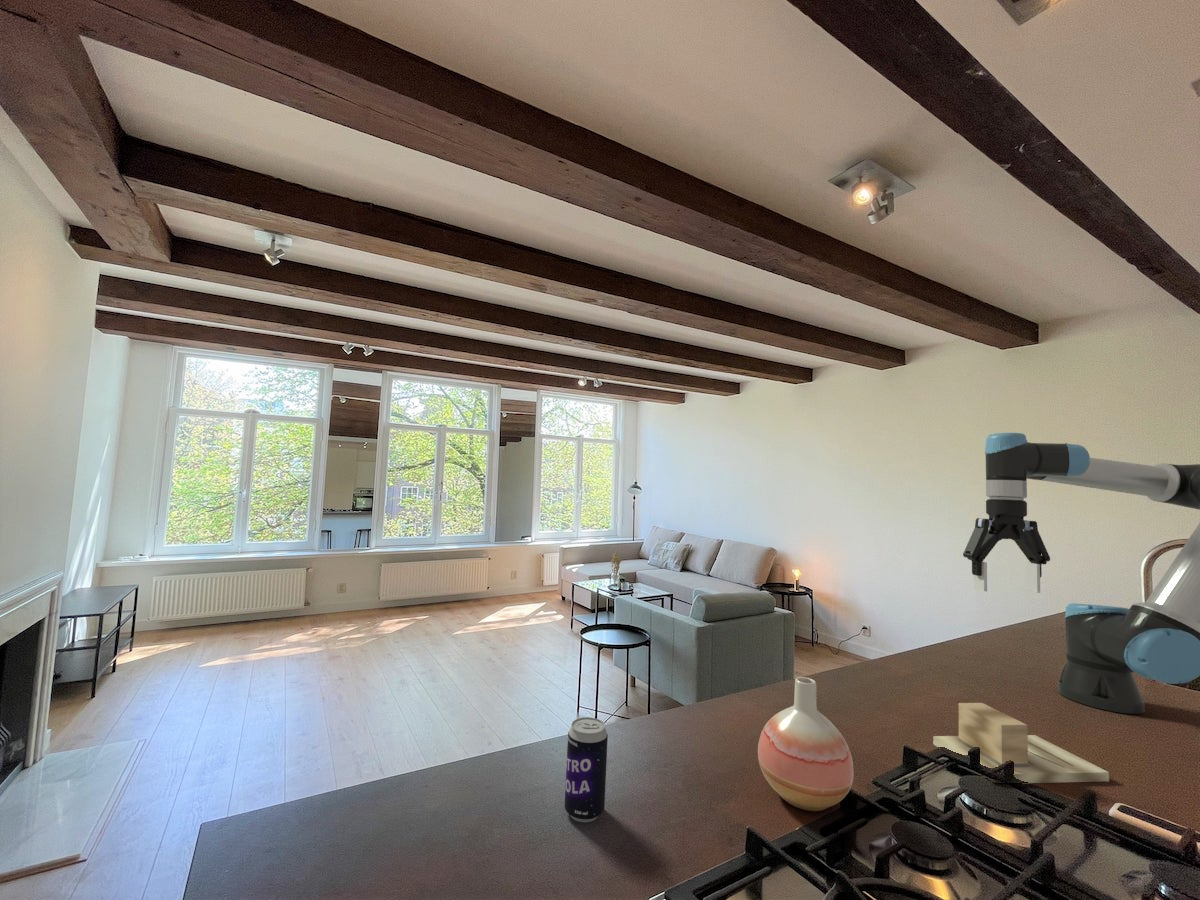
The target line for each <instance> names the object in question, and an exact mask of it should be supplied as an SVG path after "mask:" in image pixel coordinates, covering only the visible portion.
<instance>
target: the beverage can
mask: <svg viewBox="0 0 1200 900" xmlns="http://www.w3.org/2000/svg"><path fill="white" fill-rule="evenodd" d="M608 736H609V734H608V731H607V730H606V723H605V722H604V721H602V720H600V719H598V718H596V717H579V718H576V719H574V720H573V721H572V722H571V727H570V728H569V730H568V733H567V747H566V748H567V749H566V750H567V751H566V766H565V767H566V768H565V769H566V770H565V772H566V773H565V786H564V788H565V789H564V804H563V805H564V810H565V811H566V813H567V814H568V815H569V816H570V817H571V818H572V820H574V821H576V822H579V823H591V822H593V821H595V820H596V819H598V817H599V816H601V814H603V813H604V811H605V804H606V803H605V802H606V785H607V784H606V781H607V762H608V760H607V759H608V758H607V757H608V738H609V737H608Z"/></svg>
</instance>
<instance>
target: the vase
mask: <svg viewBox="0 0 1200 900" xmlns="http://www.w3.org/2000/svg"><path fill="white" fill-rule="evenodd" d="M793 693H794V697H793V705H792V706H790V707H786V708H785V709H782V710H780V711H779V712H776V713H775V714H774V715H773V716H772V717H771V718H770V719H769V720H767V722H766V724H765V725H764V726H763V728H762V730H761V733H760V736H759V738H758V739H759V740H758V743H757V759H758V764H759V768H760V770H761V772H762V774H763V777H764V778H765V780H766V781H767V782H768V785H769V786H770V787H771V788H772V789H773V790H774V791H775V792H776V793H777V794H778V795H779V796H780V797H781V798H782V799H783V801H784V802H787V803H788V804H789V805H791V806H793V807H795V808H797V809H800V810H804V811H808V812H822V811H824V810H827V809H828V808H830V807H833V806H835V805H838V804H839V803H840V802H841V801H842V800H844V799H845V798H846V796H847V795H848V794H849V792H850V790H851V788H852V785H853V783H854V775H855V772H854V763H853V762H854V761H853V757H852V753H851V750H850V748H849V746H848V743H847V742H846V739H845V738H844V736H843V734H842V733H841V732H840V731H839V729H838V728H837V727H836V725H834V724H833V723H832V721H830V720H829V719H828V718H827V717H826V716H825V715H824V714H822V713H821V712H820V711H819V710H818V708H817V682H816V681H815V680H814V679H812V678H810V677H805V676H798V677H796V678H795V680H794V692H793Z"/></svg>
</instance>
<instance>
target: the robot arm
mask: <svg viewBox="0 0 1200 900" xmlns="http://www.w3.org/2000/svg"><path fill="white" fill-rule="evenodd" d="M984 455H985V496H986V497H988V498H989V499H988V498H987V499H986V501H985V513H986V515H988V518H979V517H977V518H976V519H975V521H974V522H975V524H974V525H975V526H974V529H973V531H972V534H971V535H970V538H969V539H968V542H967V544H966V547H965V549H964V551H963V553H962V556H963V557H964V558H967V560H968V561H971V573H972V575H973V589H974V590H978V591H981V592H988V562H986V561H985V559H986V558H987V556H988V555H989V553H990V552H991V551H992V550H993V549H994V547H995V546H996V545H997V543H998V542H999V541H1002V540H1012V541H1014V543H1015V544H1016V545H1017V546H1018V548H1019V549H1020V550H1021V552H1022V553H1023V555H1024V556H1025V558H1026V559H1027V560H1028V562H1027V561H1026V562H1025V591H1027V592H1033V593H1037V594H1041V578H1042V577H1043V575H1042V565H1047V563H1048V562H1050V561H1051V556H1050V554H1049V552H1048V550H1047V548H1046V546H1045V543H1044V541H1043V539H1042V537H1041V534H1040V532H1039V529H1038V522H1037V521H1036V520H1024V518H1025V517H1027V515H1028V502H1027V501H1026V500H1024V499H1026V498H1027V497H1028V486H1027V485H1028V480H1035V481H1044V482H1049V483H1055V484H1056V483H1057V484H1061V485H1062V484H1064V485H1071V486H1075V487H1076V486H1078V487H1084V488H1090V489H1097V490H1104V491H1105V490H1106V491H1111V492H1116V493H1117V492H1118V493H1125V494H1131V495H1137V496H1144V497H1147V498H1148V499H1149V500H1150V501H1153V502H1157V503H1164V504H1168V505H1169V504H1170V505H1175V506H1180V507H1186V508H1190V509H1195V510H1199V511H1200V463H1196V464H1172V463H1171V464H1170V463H1166V462H1165V463H1164V462H1163V463H1157V464H1155V465H1148V464H1140V463H1133V462H1127V461H1126V462H1125V461H1119V460H1118V461H1117V460H1112V459H1104V458H1097V457H1091V456H1090V453H1089V451H1088V449H1087V448H1086V447H1084V446H1083V445H1081V444H1077V443H1076V444H1075V443H1074V444H1073V443H1067V442H1065V443H1056V442H1055V443H1051V442H1049V443H1047V442H1046V443H1045V442H1043V443H1041V442H1030V441H1028V439H1027V436H1026V435H1025V434H1024V433H1020V432H997V433H996V432H995V433H991V434H989V435H988V436H987V437H986V441H985V450H984ZM1064 615H1065V616H1064V620H1065V650H1066V651H1065V652H1066V653H1065V655H1066V656H1065V657H1066V661H1065V665H1064V667H1063V668H1062V671H1061V674H1060V676H1059V679H1058V681H1057V693H1058V694H1060V695H1061V696H1063V697H1064V698H1067V699H1068V700H1071V701H1073V702H1077V703H1079V704H1082V705H1085V706H1089V707H1093V708H1095V709H1100V710H1104V711H1105V710H1106V711H1108V712H1109V711H1110V712H1115V713H1122V714H1130V715H1138V714H1139V715H1140V714H1144V713H1145V712H1146V707H1145V701H1144V698H1143V697H1142V694H1141V692H1140V688H1139V686H1138V684H1137V682H1136V680H1135V677H1134V674H1135V673H1136V674H1137V675H1139V676H1140V677H1143V678H1146V679H1149V680H1152V681H1157V682H1160V683H1163V684H1164V683H1165V684H1169V685H1177V684H1178V685H1179V684H1185V683H1189V682H1192V681H1194V680H1196V679H1198V678H1199V677H1200V522H1199V523H1198V524H1197V526H1196V527H1195V529H1194V531H1193V532H1192V533H1191V535H1190V536H1189V537H1188V539H1187V540H1186V542H1185V543H1184V545H1183V547H1182V548H1181V549H1180V551H1179V552H1178V554H1177V555H1176V557H1175V558H1174V560H1173V561H1172V562H1171V564H1170V566H1169V567H1168V568H1167V570H1166V572H1165V573H1164V574H1163V576H1162V577H1161V579H1160V581H1159V582H1158V583H1157V585H1156V586H1155V587H1154V589H1153V591H1152V592H1151V594H1150V595H1149V597H1148V598H1147V599H1146V601H1145V602H1137V603H1133V604H1132V605H1131V606H1130V607H1129V608H1128V607H1123V606H1122V607H1121V606H1113V605H1111V606H1110V605H1100V604H1091V603H1090V604H1089V603H1074V602H1072V603H1068V604H1067V605H1066V606H1065V614H1064Z"/></svg>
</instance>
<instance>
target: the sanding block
mask: <svg viewBox="0 0 1200 900" xmlns="http://www.w3.org/2000/svg"><path fill="white" fill-rule="evenodd" d="M1028 735H1029V734H1028V724H1026V723H1025V722H1022V721H1020V720H1018V719H1016V718H1014V717H1012V716H1009V715H1008V714H1006V713H1004V712H1001V711H999V710H997V709H995V708H993V707H991V706H989V705H988V704H985V703H984V702H958V736H959V742H961V743H963V744H964V745H966V746H967V747H969V748H973V747H979V748H980V754H981V755H982V756H984V757H985V758H987V759H989V760H990V761H992V762H994V763H995V764H997V765H1002V764H1004V763H1005V762H1006V761H1009V760H1011V761H1013V762H1014V767H1028Z"/></svg>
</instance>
